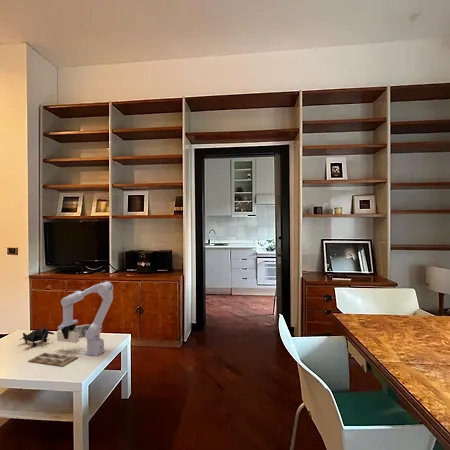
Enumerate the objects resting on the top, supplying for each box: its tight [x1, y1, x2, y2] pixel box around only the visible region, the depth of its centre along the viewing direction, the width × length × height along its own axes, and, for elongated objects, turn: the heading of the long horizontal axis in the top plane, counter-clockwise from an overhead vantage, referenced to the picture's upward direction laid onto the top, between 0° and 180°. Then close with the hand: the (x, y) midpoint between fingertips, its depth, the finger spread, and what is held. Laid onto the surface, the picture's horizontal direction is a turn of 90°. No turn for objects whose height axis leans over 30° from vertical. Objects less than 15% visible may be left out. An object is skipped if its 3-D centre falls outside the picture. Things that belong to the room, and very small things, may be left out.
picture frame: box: [27, 352, 79, 368], centre depth 197 cm, size 24×12×2 cm, turn 73°
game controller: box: [75, 323, 91, 338], centre depth 235 cm, size 20×2×8 cm, turn 123°
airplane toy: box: [19, 321, 55, 348], centre depth 223 cm, size 20×19×15 cm
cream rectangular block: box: [56, 329, 80, 344], centre depth 210 cm, size 14×3×8 cm, turn 73°
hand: (68, 337), depth 210 cm, fingers closed on cream rectangular block, 3 cm apart
